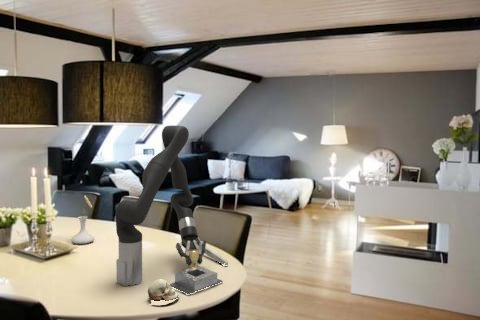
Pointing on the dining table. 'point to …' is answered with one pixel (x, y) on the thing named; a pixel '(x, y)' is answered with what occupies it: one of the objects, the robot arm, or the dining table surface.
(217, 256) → the wrench
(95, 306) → the dining table surface
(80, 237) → the flower in vase
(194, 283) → the grey square holder
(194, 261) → the brass fitting
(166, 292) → the skull
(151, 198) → the robot arm
